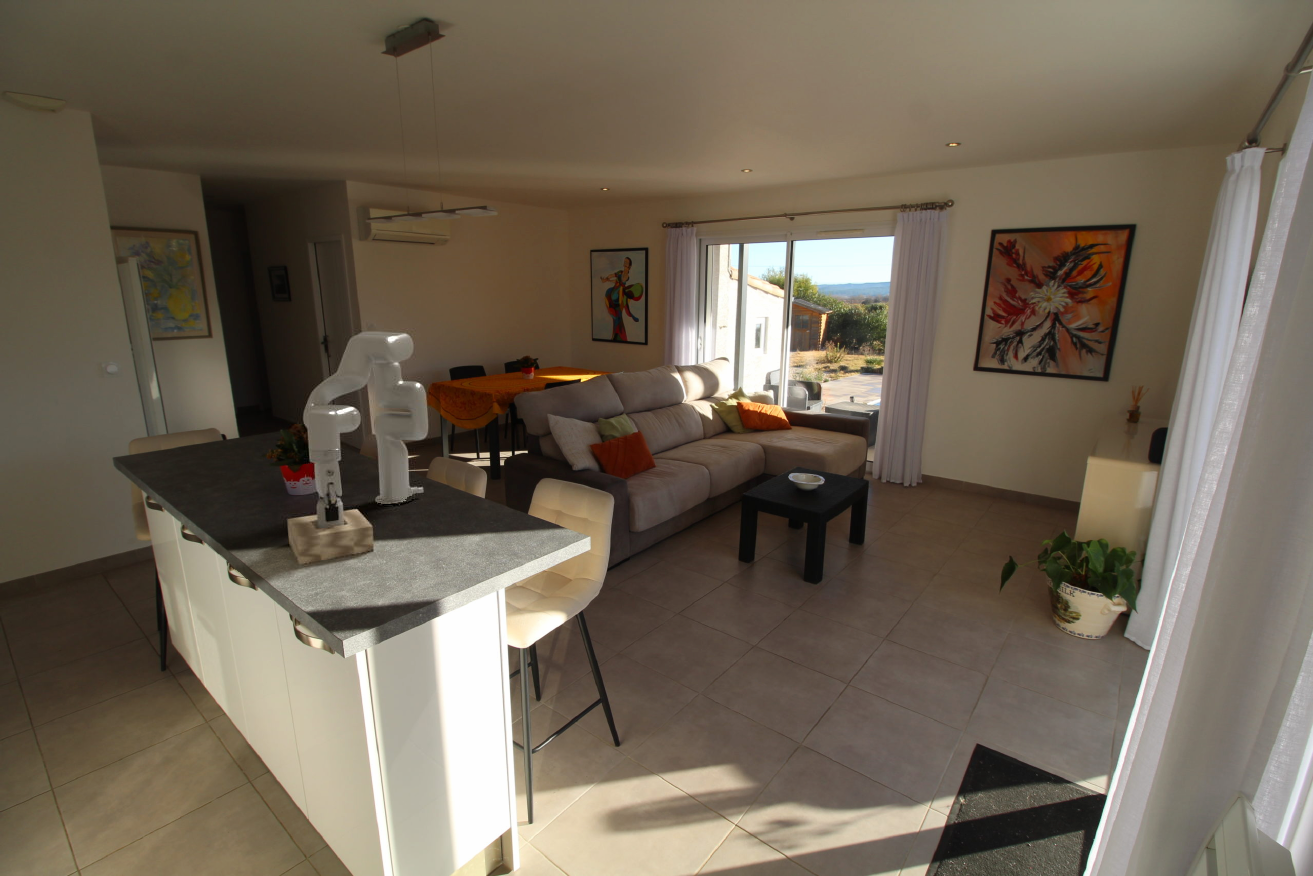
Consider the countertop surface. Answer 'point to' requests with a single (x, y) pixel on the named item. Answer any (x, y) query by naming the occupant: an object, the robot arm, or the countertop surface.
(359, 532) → the holder block
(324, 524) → the beverage can
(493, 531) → the countertop surface
